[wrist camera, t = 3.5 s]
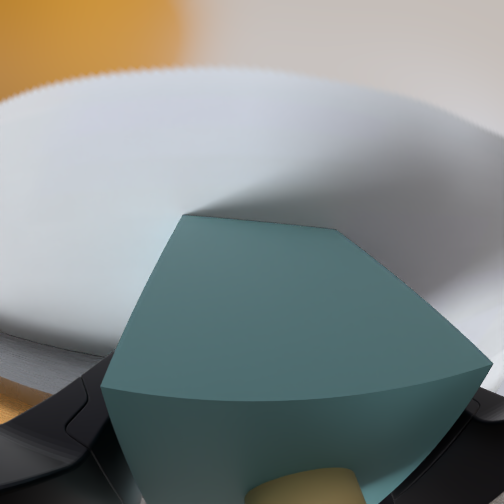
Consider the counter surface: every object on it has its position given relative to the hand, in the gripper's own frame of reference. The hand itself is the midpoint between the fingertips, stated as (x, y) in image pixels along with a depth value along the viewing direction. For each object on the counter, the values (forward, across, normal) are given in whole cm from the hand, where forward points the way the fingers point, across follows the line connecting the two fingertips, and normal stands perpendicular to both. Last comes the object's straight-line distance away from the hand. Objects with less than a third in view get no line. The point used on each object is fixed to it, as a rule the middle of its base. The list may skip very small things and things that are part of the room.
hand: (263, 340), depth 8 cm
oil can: (+3, 0, 0) cm, 3 cm away
